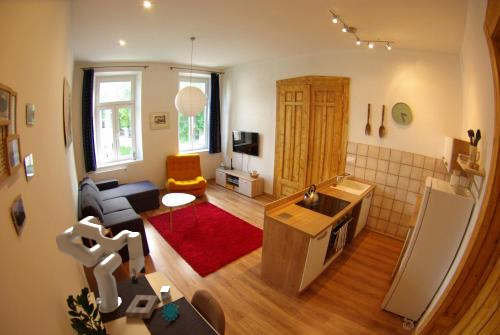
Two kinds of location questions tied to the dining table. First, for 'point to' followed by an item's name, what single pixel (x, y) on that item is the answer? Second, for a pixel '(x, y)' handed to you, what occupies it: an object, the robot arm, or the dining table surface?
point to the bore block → (138, 312)
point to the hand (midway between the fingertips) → (139, 278)
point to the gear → (170, 311)
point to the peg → (165, 292)
